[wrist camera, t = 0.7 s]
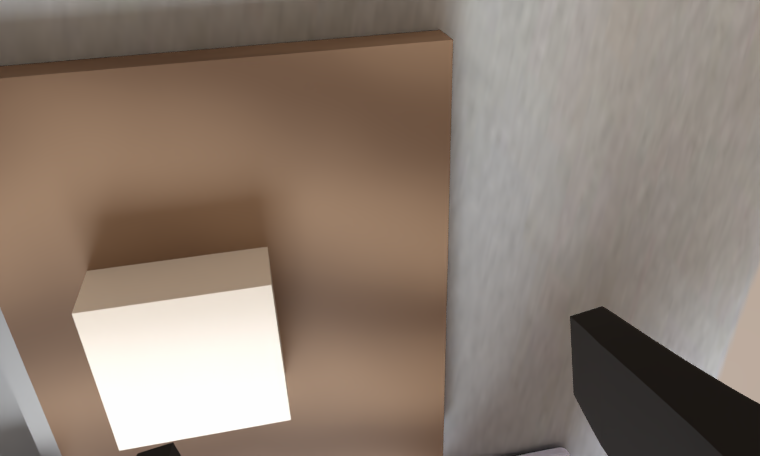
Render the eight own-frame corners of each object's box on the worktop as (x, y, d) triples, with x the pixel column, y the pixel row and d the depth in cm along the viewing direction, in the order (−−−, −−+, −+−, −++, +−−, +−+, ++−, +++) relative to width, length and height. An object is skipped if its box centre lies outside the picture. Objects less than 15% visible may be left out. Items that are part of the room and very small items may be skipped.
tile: (285, 375, 21) (290, 419, 19) (128, 401, 20) (119, 450, 18) (267, 246, 18) (271, 285, 17) (87, 271, 18) (71, 313, 16)
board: (434, 433, 25) (442, 457, 24) (97, 497, 23) (91, 526, 22) (439, 29, 18) (453, 39, 16) (-71, 72, 15) (-92, 86, 14)
